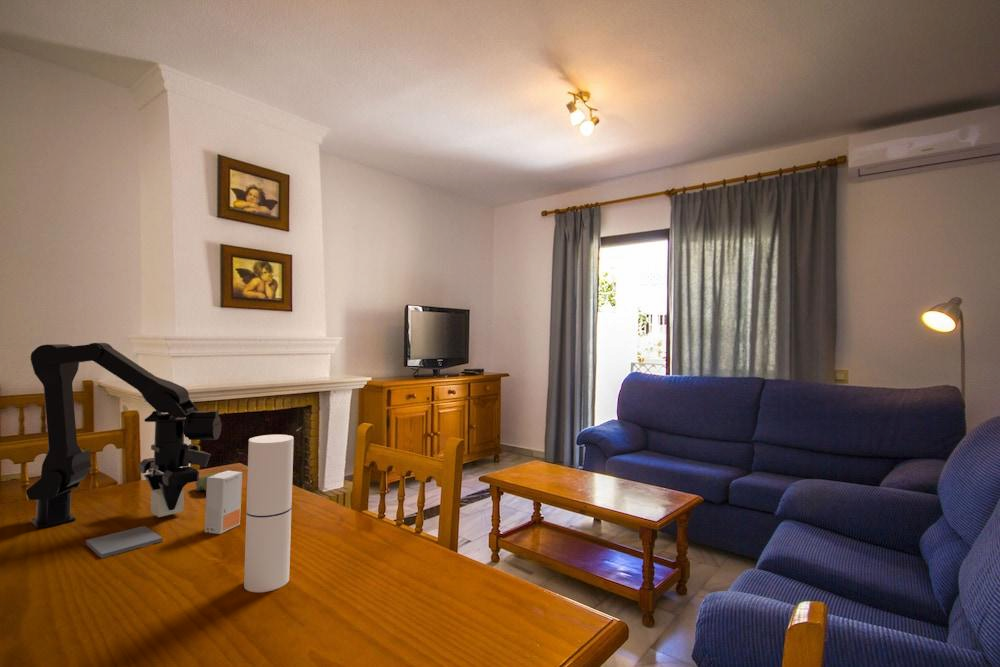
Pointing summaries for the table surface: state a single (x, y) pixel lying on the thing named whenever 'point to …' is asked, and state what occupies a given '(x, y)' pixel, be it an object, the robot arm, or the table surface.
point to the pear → (203, 482)
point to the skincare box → (223, 501)
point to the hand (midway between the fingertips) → (167, 507)
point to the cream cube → (164, 504)
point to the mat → (123, 541)
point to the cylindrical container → (268, 512)
